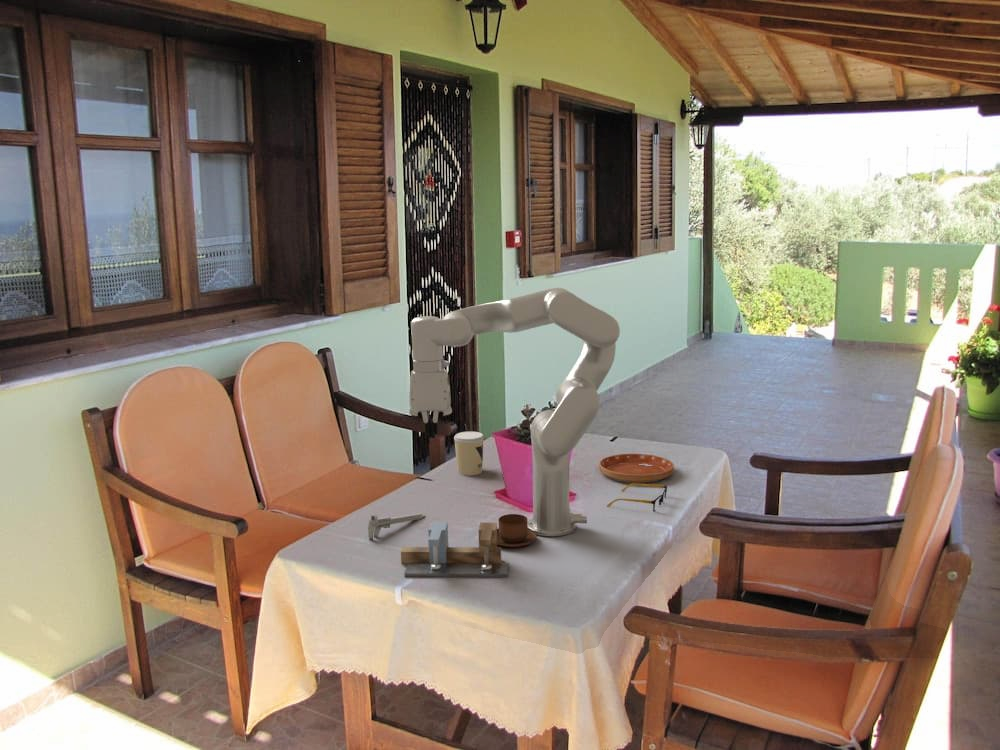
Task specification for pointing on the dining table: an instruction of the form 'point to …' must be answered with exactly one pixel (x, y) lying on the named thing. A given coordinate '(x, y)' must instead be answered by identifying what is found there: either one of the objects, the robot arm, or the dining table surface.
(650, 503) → the eyeglasses
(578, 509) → the dining table surface
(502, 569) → the bolt plate
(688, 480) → the dining table surface
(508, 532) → the cup and saucer
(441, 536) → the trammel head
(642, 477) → the saucer
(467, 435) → the coffee cup
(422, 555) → the beam
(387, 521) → the caliper
